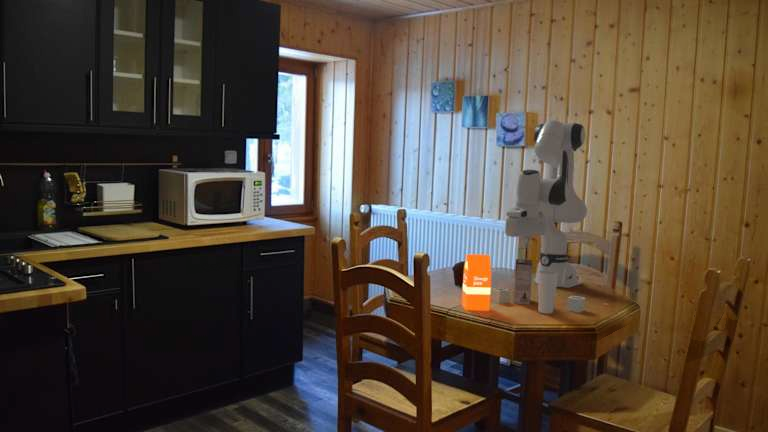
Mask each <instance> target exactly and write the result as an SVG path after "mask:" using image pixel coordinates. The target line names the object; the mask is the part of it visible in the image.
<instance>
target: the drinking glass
mask: <svg viewBox="0 0 768 432" xmlns="http://www.w3.org/2000/svg"><path fill="white" fill-rule="evenodd" d="M557 288H558V287H557V272H553V271H539V275H538V284H537V294H538V295H537V297H538V300H537V304H538V305H537V306H538V307H537V309H538V310H537V311H538V313H540V314H544V315H549V314H550V315H551V314H553V313H554V306H555V298H556V294H557V293H556V291H557Z"/></svg>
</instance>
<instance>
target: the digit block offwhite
mask: <svg viewBox="0 0 768 432" xmlns="http://www.w3.org/2000/svg"><path fill="white" fill-rule="evenodd" d="M566 303H567V305H566V311H568V312H572V311H573V312H572V313H577V312H578V314H580V312H581V313H582V311H583V312H584V310H585V311H586V297H584V296H578V295H577V296H576V295H570V296H568V297H567V302H566Z"/></svg>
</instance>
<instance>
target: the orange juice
mask: <svg viewBox="0 0 768 432" xmlns="http://www.w3.org/2000/svg"><path fill="white" fill-rule="evenodd" d="M464 261H465V265H464V275H463V287H462V296H461V306H462V307H463V308H464V310H465V311H486V312H487V311H490V303H491V292H492V287H491V285H492V264H491V255H490V254H471V253H470V254H466V257H465V260H464Z"/></svg>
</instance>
